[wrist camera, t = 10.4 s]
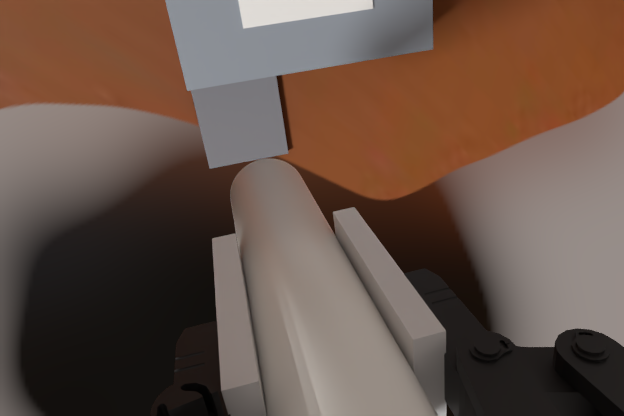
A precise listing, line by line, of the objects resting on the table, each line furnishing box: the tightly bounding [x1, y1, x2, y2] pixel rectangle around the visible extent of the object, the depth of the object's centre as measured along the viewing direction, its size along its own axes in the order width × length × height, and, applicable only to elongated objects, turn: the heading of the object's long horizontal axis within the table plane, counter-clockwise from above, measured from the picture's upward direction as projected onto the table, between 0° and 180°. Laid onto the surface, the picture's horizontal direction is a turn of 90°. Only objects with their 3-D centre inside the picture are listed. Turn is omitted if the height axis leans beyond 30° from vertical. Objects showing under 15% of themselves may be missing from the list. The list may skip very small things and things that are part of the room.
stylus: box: [230, 159, 438, 416], centre depth 13 cm, size 4×4×18 cm
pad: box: [191, 76, 288, 169], centre depth 34 cm, size 6×6×1 cm
